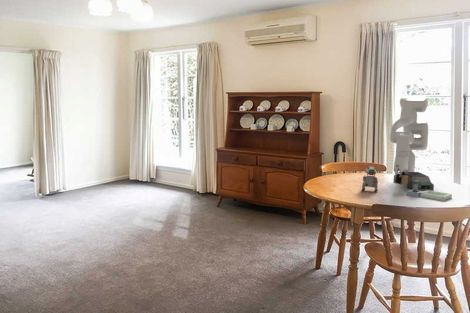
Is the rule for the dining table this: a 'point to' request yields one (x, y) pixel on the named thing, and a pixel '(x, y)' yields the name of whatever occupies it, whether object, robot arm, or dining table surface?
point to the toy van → (423, 181)
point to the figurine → (370, 179)
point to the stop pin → (415, 185)
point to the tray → (435, 195)
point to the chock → (402, 179)
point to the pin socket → (413, 193)
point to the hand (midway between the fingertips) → (400, 182)
